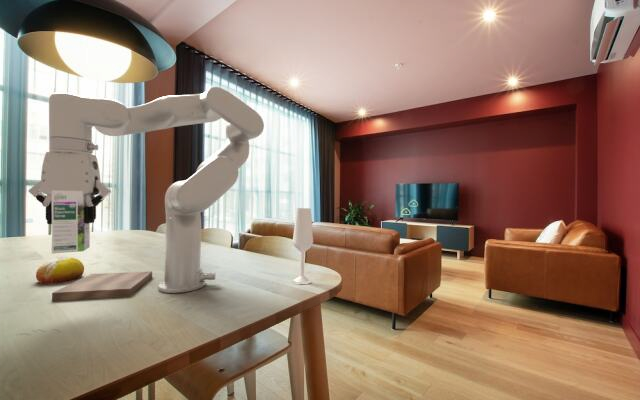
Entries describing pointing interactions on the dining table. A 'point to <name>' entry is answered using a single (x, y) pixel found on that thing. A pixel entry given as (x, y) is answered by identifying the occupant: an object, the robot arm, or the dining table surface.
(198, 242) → the robot arm
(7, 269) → the dining table surface
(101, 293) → the walnut board
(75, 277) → the fruit
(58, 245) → the syrup box
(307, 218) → the champagne flute
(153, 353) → the dining table surface
